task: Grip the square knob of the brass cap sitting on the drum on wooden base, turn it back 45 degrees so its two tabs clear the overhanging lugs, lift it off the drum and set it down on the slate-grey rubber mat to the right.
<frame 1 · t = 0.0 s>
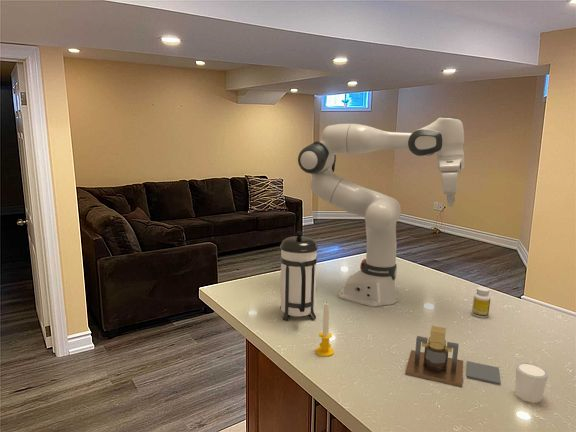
hand: (451, 204, 147), 39 cm above the table, tool pointing down, fingers open, 8 cm apart
supplement bottle: (480, 315, 150), on the table
candle: (324, 352, 123), on the table
drum on wooden base: (434, 368, 115), on the table
mat: (482, 373, 113), on the table
cap: (436, 348, 114), point 6 cm above the table, touching drum on wooden base
coffee press: (299, 316, 147), on the table
white cylinder: (528, 396, 104), on the table
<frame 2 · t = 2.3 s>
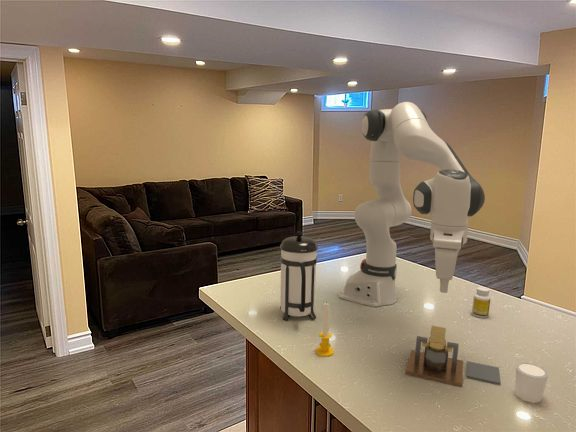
hand: (444, 285, 110), 24 cm above the table, tool pointing down, fingers open, 8 cm apart
nothing on the table moved.
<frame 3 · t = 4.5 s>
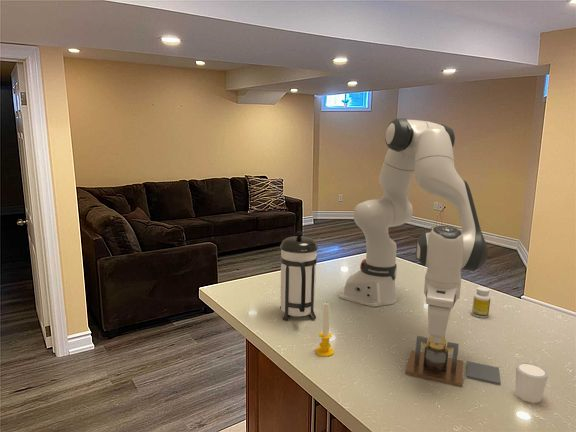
hand: (437, 337, 113), 9 cm above the table, tool pointing down, fingers closed on cap, 4 cm apart
cap: (436, 348, 114), point 6 cm above the table, touching gripper, drum on wooden base
everything else where it was.
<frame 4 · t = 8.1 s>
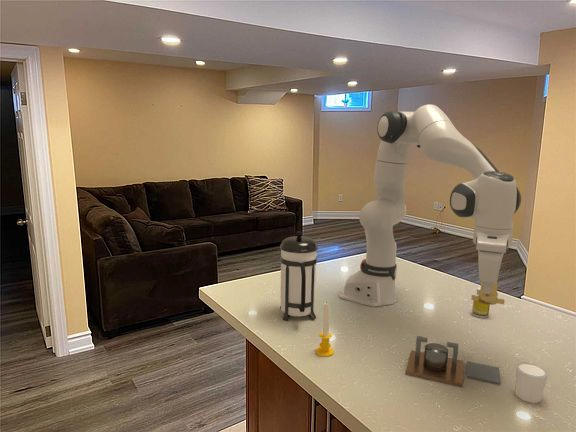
hand: (487, 289, 108), 24 cm above the table, tool pointing down, fingers closed on cap, 4 cm apart
cap: (487, 301, 109), point 21 cm above the table, touching gripper
everything else where it was.
when the fingers open (6 cm above the table, at t = 12.0 s): cap drops 2 cm, resting on mat.
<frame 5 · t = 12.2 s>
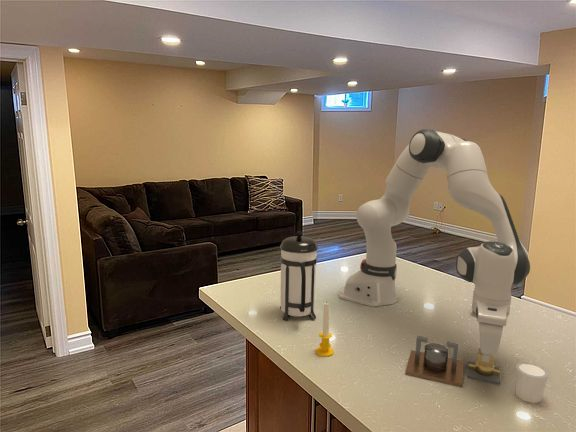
hand: (485, 354, 112), 6 cm above the table, tool pointing down, fingers open, 6 cm apart
cap: (484, 371, 113), point 1 cm above the table, touching mat
everything else where it was.
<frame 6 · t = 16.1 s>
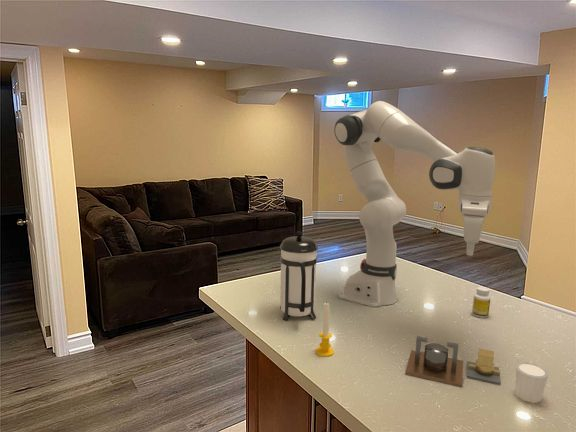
hand: (469, 250, 124), 29 cm above the table, tool pointing down, fingers open, 8 cm apart
nothing on the table moved.
at the end: cap inside the target area on the mat (0.2 cm from its centre), point 0.6 cm above the mat's base; cap tilted 0°; the gripper is holding nothing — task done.
